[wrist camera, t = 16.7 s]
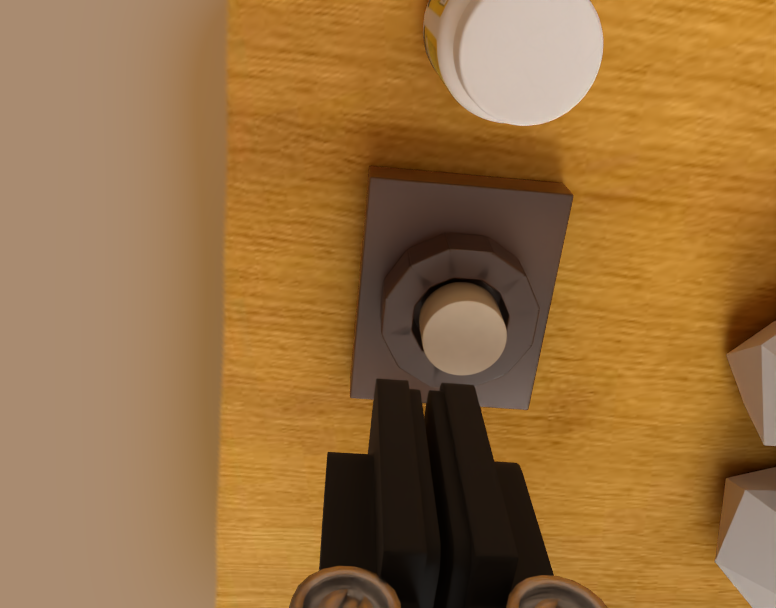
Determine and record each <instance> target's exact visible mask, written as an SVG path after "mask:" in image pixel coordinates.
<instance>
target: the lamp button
mask: <svg viewBox="0 0 776 608" xmlns="http://www.w3.org/2000/svg"><path fill="white" fill-rule="evenodd" d="M419 326H420V332H421V339H422V346H423V350H424V352H425V355H426V356H427V358H428V360H429V361H430V362H431V363H432V364H433V365H434V366H435V367H437V368H438V369H440V370H442V371H443V372H446V373H449V374H453V375H471V374H476V373H479V372H481V371H483V370H485V369H487V368H489V367H490V366H491V365H493V364H494V363H495V362H496V361H497V360H498V358H499V357H500V356H501V354H502V352H503V350H504V348H505V345H506V341H507V330H506V326H505V323H504V320H503V318H502V315H501V312H500V310H499V307H498V305H497V302H496V300H495V299H494V297H493V296H492V295H491V294H490V293H489V292H488V291H487V290H486V289H484V288H482V287H481V286H479V285H476V284H473V283H468V282H455V283H450V284H447V285H444V286H442V287H440V288H438V289H437V290H435V291H434V292H433V293H432V294H430V295H429V297H428V298H427V299H426V300H425V302H424V304H423V306H422V308H421V311H420V315H419Z"/></svg>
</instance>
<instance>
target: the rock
mask: <svg viewBox="0 0 776 608" xmlns="http://www.w3.org/2000/svg"><path fill="white" fill-rule="evenodd" d="M726 356H727V358H728V361H729V364H730V367H731V369H732V372H733V375H734V378H735V380H736V383H737V386H738V389H739V391H740V394H741V397H742V400H743V403H744V405H745V407H746V409H747V411H748V413H749V415H750V417H751V420H752V422H753V424H754V426H755V428H756V430H757V432H758V434H759V436H760V438H761V440H762V442H763V444H764V445H768V446H776V320H775V321H774V322H772V323H771V324H769V325H768V326H767V327H765V328H764V329H762V330H761V331H759V332H758V333H756V334H755V335H754V336H752V337H751V338H749V339H748V340H746V341H745V342H743V343H742V344H741V345H739V346H738V347H736V348H735V349H733V350H732V351H730V352H729V353H728V354H726ZM715 562H716V563H717V565H718V566H719V567H720V568H721V570H722V571H723V572H724V573H725V574H726V576H727V577H728V578H729V579H730V581H731V582H732V583H733V584H734V586H735V587H736V588H737V589H738V590H739V592H740V593H741V594H742V595H743V597H744V598H745V599H746V600H747V601H748V603H749V604H750V605H751V606H752V608H776V467H773V468H769V469H765V470H760V471H756V472H751V473H747V474H742V475H738V476H733V477H729V478H726V482H725V489H724V497H723V504H722V512H721V519H720V527H719V534H718V542H717V549H716V557H715Z"/></svg>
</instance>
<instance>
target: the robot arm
mask: <svg viewBox="0 0 776 608" xmlns="http://www.w3.org/2000/svg"><path fill="white" fill-rule="evenodd" d="M289 608H607V606H606V605H605V604H604V602H603V601H602V600H601V599H600V598H599V597H598V596H597V595H595V594H594V593H593V592H592V591H591V590H589V589H588V588H586V587H584V586H582V585H581V584H579V583H577V582H575V581H573V580H569V579H566V578H562V577H559V576H554V575H553V571H552V568H551V565H550V561H549V558H548V555H547V552H546V548H545V545H544V542H543V539H542V535H541V532H540V529H539V525H538V522H537V519H536V516H535V512H534V509H533V506H532V503H531V499H530V496H529V493H528V489H527V486H526V483H525V480H524V476H523V473H522V470H521V468H520V466H519V465H518V464H517V463H510V462H494V459H493V455H492V452H491V448H490V444H489V440H488V436H487V432H486V428H485V424H484V420H483V417H482V413H481V409H480V405H479V401H478V397H477V393H476V389H475V387H474V385H470V384H455V383H441V386H440V389H439V391H434V390H429V392H428V396H427V403H426V410H425V417H424V414H423V407H422V399H421V392H420V390H418V389H409V382H408V380H393V379H378V378H377V379H376V383H375V391H374V401H373V410H372V420H371V429H370V439H369V448H368V454H353V453H336V452H328V454H327V466H326V480H325V493H324V507H323V521H322V535H321V551H320V566H319V571H318V572H316V573H314V574H312V575H310V576H308V577H307V578H306V579H305V580H304V581H303V582H302V583H301V584H300V585H299V586H298V588H297V589H296V591H295V593H294V595H293V597H292V599H291V603H290V606H289Z"/></svg>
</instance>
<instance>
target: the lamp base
mask: <svg viewBox="0 0 776 608" xmlns="http://www.w3.org/2000/svg"><path fill="white" fill-rule="evenodd" d="M572 201H573V194H572V193H571V192H570V191H569V189H568V188H567V187H566V186H565V185H564V184H563V183H557V182H546V181H534V180H523V179H512V178H501V177H489V176H478V175H467V174H456V173H444V172H433V171H422V170H411V169H399V168H388V167H377V166H370V167H369V174H368V185H367V196H366V208H365V219H364V230H363V241H362V253H361V264H360V275H359V286H358V298H357V309H356V320H355V331H354V343H353V354H352V365H351V376H350V398H359V399H374V391H375V383H376V379H377V378H378V379H393V380H408V382H409V389H418V390H420V392H421V399H422V403H427V396H428V392H429V390H434V391H439V389H440V386H441V383H455V384H470V385H474V387H475V389H476V393H477V397H478V401H479V405H480V407H492V408H507V409H522V410H528V408H529V404H530V399H531V394H532V389H533V385H534V380H535V375H536V371H537V366H538V361H539V356H540V352H541V347H542V342H543V338H544V333H545V328H546V323H547V319H548V314H549V309H550V305H551V300H552V295H553V290H554V286H555V281H556V276H557V272H558V267H559V262H560V257H561V253H562V248H563V243H564V239H565V234H566V229H567V224H568V220H569V215H570V210H571V206H572ZM455 282H468V283H473V284H476V285H479V286H481V287H482V288H484V289H486V290H487V291H488V292H489V293H490V294H491V295H492V296H493V297H494V299H495V300H496V302H497V305H498V307H499V310H500V312H501V315H502V318H503V320H504V323H505V326H506V330H507V341H506V345H505V348H504V350H503V352H502V354H501V356H500V357H499V358H498V360H497V361H496V362H495V363H494V364H493V365H491V366H490V367H489V368H487V369H485V370H483V371H481V372H479V373H476V374H471V375H453V374H449V373H446V372H443V371H442V370H440V369H438V368H437V367H435V366H434V365H433V364H432V363H431V362H430V361H429V360H428V358H427V356H426V355H425V352H424V350H423V346H422V339H421V332H420V326H419V315H420V311H421V308H422V306H423V304H424V302H425V300H426V299H427V298H428V297H429V295H430V294H432V293H433V292H434V291H435V290H437V289H438V288H440V287H442V286H444V285H447V284H450V283H455Z"/></svg>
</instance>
